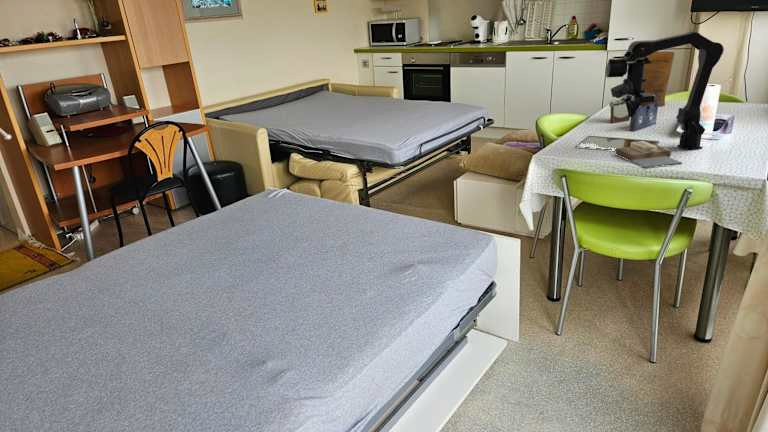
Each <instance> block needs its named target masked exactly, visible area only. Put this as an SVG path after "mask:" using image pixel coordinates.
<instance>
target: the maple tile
mask: <svg viewBox="0 0 768 432" xmlns="http://www.w3.org/2000/svg"><path fill="white" fill-rule="evenodd" d="M630 147H631V148H633V149H635V150H638V151H640V152H643V153H650V152H657V146H655V145H652V144H649V143H647V142H644V141H637V142H631V143H630Z"/></svg>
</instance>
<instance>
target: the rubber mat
mask: <svg viewBox="0 0 768 432" xmlns="http://www.w3.org/2000/svg"><path fill="white" fill-rule="evenodd" d="M631 161H632V162H635V163H637V164H639V165H641V166H643V167H644V168H643V167H642V168H643V169H649V168H648V167H654V166H662V165H670V166H675V165H674V164H678V165H682V164H683V162H682V161H679V160H677V159H675V158H672V157H667V156H661V157H652V158H644V159H636V160H631ZM632 162H631V163H632ZM635 163H634V164H635ZM637 164H636V165H637ZM639 165H638V166H639ZM641 166H640V167H641ZM662 167H663V166H662ZM654 168H655V167H654Z"/></svg>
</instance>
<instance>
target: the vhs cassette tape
mask: <svg viewBox="0 0 768 432" xmlns="http://www.w3.org/2000/svg"><path fill="white" fill-rule="evenodd" d="M658 108H659V106H658V103H651V104H647V105H644V106H639V108H638V109H637V111H636V112H635V114H634V115H633V117H630V120H629V122H630V123H629V131H630V132H637V131H640V130H643V129H646V128H649V127H652V126H655V125H656V124H657V117H658Z"/></svg>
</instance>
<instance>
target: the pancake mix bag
mask: <svg viewBox="0 0 768 432" xmlns="http://www.w3.org/2000/svg"><path fill="white" fill-rule="evenodd" d="M675 53H676V52H675V51H670V50H669V51H668V50H667V51H666V50H665V51H657V52H654V53H653V54H651V55H648V56H646V57H647V58H648V59H649V60H650V61H651V63H650V64H645V68H644V76H643V79H646V81H645V82H643V85H642V90H644V93H652V94H654V95H655V101H654V102H644V103H642V104H641V105H640V106H639V107H641V106H644V105H647V104H651V103H658V107H665V106H666V93H667V90H668V84H669V80H670V78H671V73H672V68H673V64H674V59H675V55H676V54H675ZM643 58H644V57H643ZM643 58H638V59H643Z"/></svg>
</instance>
